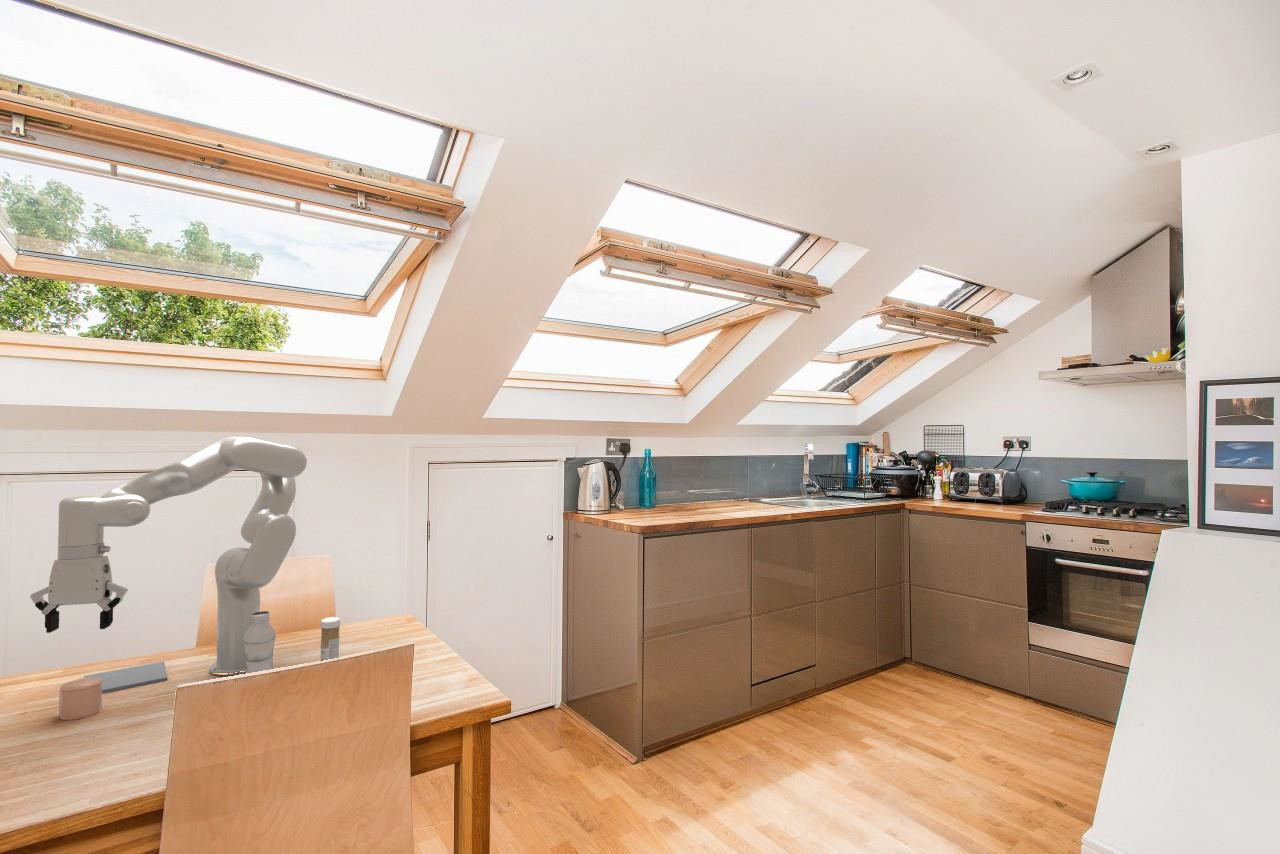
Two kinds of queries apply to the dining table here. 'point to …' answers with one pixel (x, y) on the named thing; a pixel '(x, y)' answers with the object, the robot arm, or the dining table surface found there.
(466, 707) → the dining table surface
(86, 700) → the peach domed cylinder
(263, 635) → the plastic bottle
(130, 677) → the slate mat
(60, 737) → the dining table surface
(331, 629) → the sprinkles bottle
